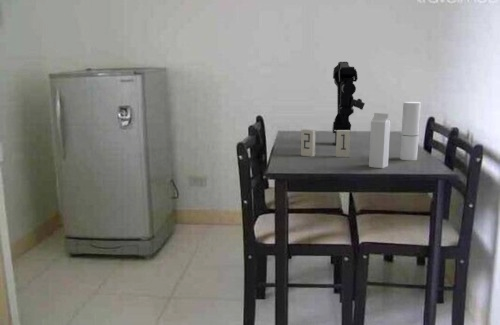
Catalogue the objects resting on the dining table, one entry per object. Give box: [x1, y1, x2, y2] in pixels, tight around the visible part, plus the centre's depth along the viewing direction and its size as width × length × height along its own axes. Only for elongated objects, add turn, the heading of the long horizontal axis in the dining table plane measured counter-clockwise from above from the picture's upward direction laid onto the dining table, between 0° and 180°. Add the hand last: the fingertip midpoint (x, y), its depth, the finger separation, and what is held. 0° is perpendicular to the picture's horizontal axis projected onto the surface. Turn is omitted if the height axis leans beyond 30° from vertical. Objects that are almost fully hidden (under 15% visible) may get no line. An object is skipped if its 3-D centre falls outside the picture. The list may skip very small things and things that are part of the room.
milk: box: [368, 112, 391, 169], centre depth 192 cm, size 6×6×22 cm
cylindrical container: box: [399, 101, 422, 161], centre depth 206 cm, size 7×7×25 cm
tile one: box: [335, 130, 351, 158], centre depth 213 cm, size 3×6×12 cm, turn 81°
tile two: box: [300, 128, 317, 158], centre depth 216 cm, size 3×6×12 cm, turn 54°
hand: (345, 126), depth 224 cm, fingers closed
